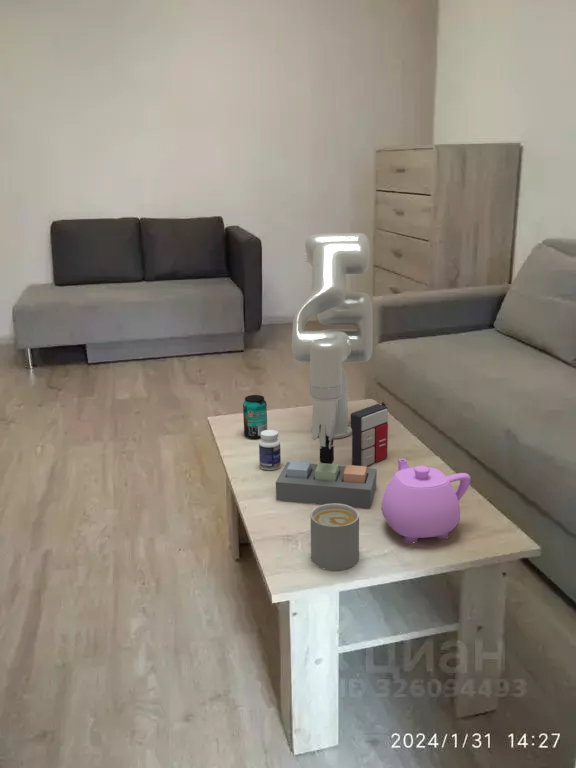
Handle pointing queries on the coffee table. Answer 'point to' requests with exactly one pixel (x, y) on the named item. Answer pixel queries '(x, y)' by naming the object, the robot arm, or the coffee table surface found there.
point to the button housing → (326, 489)
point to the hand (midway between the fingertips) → (326, 462)
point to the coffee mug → (335, 536)
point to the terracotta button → (355, 474)
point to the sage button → (327, 472)
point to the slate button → (299, 469)
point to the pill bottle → (269, 450)
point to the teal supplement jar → (254, 416)
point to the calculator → (369, 435)
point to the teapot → (423, 502)
